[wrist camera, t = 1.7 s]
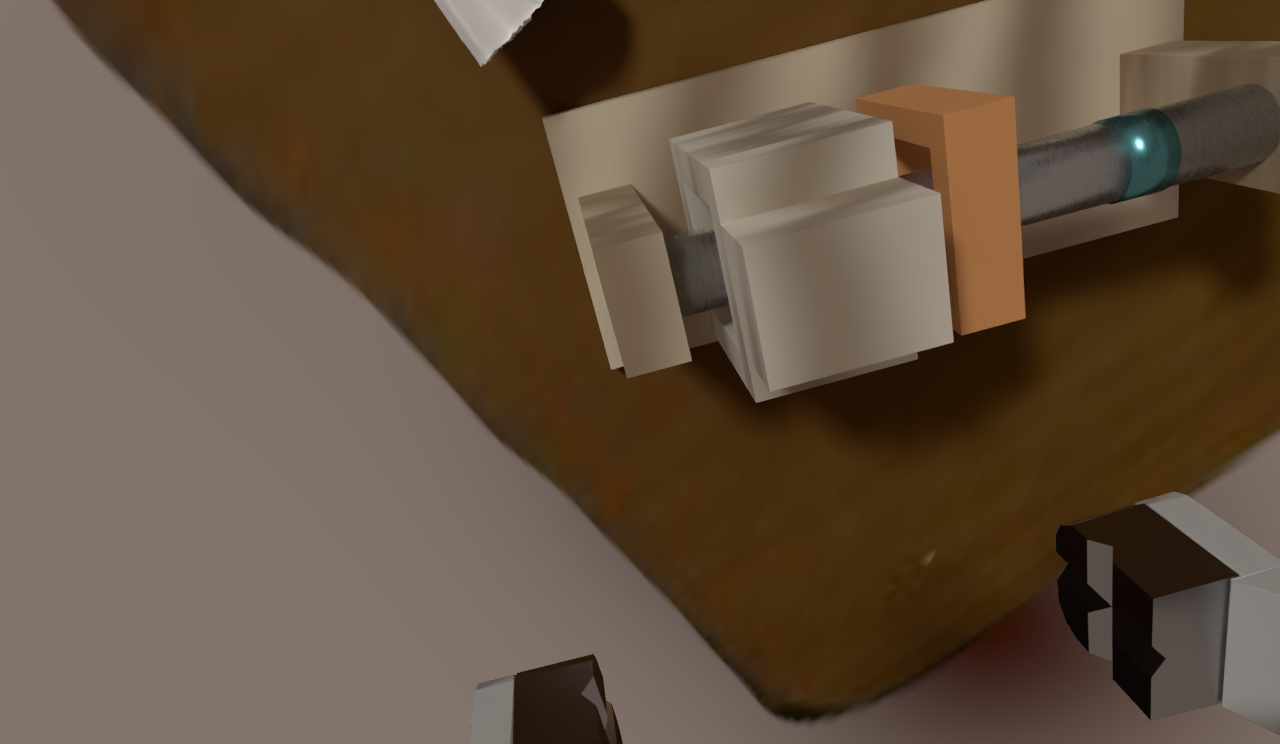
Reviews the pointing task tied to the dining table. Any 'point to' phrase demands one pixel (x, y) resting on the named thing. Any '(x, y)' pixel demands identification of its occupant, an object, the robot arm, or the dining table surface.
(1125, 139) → the pipe
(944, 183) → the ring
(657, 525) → the dining table surface
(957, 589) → the dining table surface
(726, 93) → the stand
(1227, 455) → the dining table surface
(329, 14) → the dining table surface
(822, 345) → the sleeve
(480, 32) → the pair of white wedges
